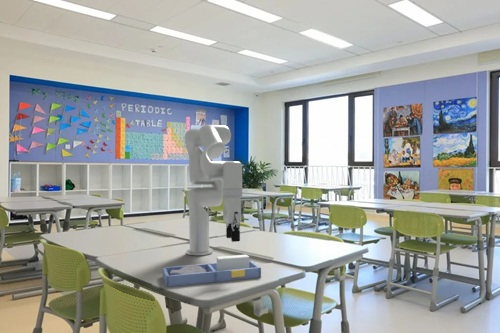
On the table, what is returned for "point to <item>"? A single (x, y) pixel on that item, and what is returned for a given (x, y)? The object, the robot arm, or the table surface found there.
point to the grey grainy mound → (188, 270)
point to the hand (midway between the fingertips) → (233, 239)
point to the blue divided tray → (209, 274)
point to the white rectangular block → (232, 262)
